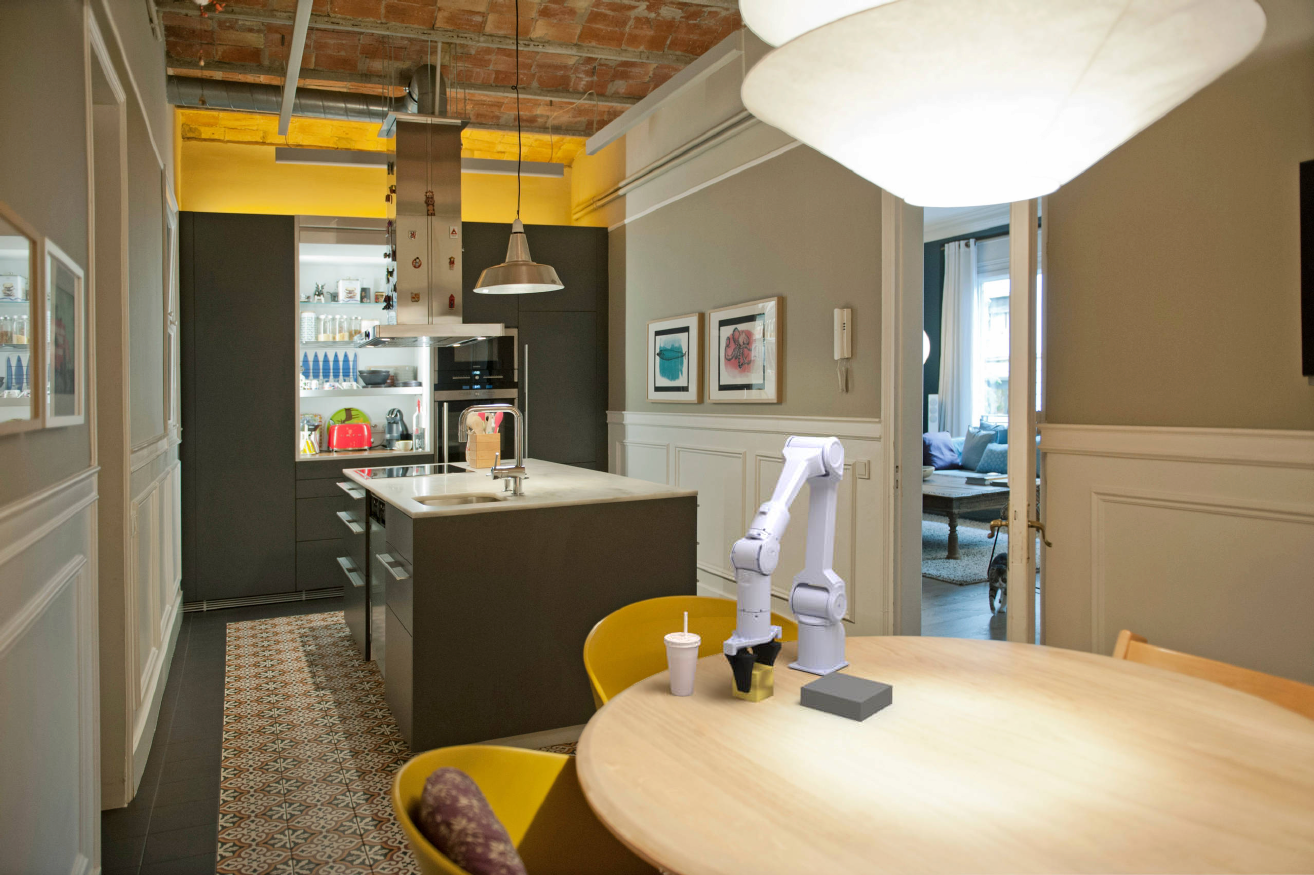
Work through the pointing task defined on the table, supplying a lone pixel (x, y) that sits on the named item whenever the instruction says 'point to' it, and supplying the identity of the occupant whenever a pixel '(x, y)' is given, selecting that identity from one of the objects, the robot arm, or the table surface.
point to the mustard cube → (758, 684)
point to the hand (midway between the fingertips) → (753, 687)
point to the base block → (846, 696)
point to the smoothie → (682, 660)
